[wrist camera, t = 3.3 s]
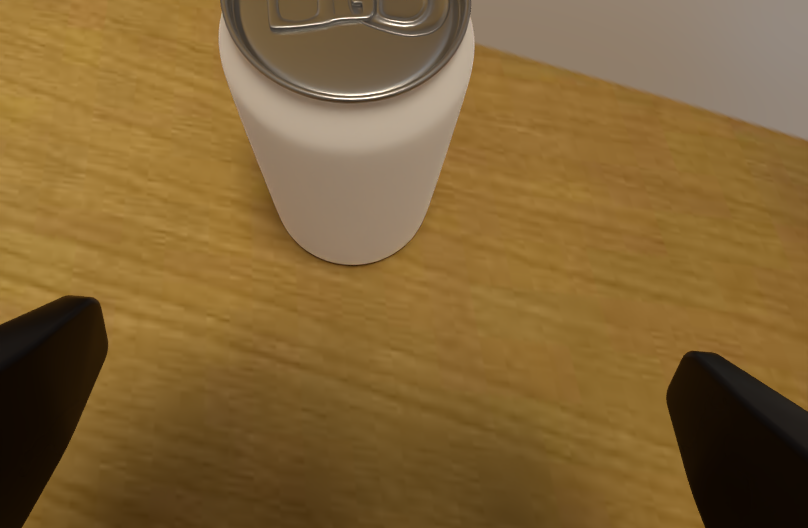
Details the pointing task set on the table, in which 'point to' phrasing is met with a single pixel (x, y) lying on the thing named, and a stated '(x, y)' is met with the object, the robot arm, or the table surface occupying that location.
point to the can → (348, 112)
